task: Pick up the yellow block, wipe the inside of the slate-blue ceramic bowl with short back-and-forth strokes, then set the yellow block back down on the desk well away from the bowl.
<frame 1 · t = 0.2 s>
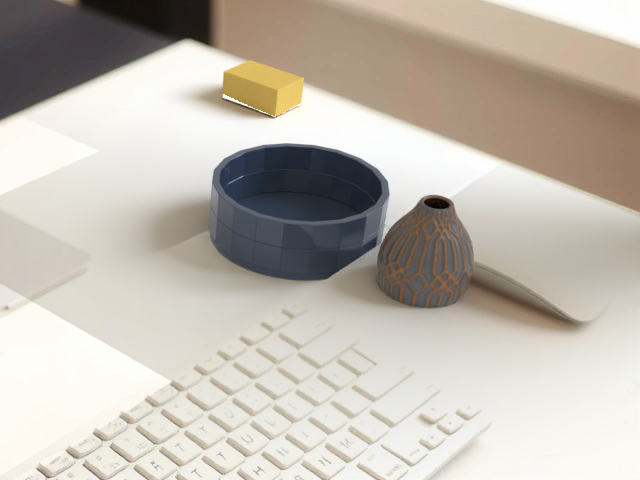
vase: (416, 306, 82), on the table
bowl: (294, 234, 91), on the table
yellow block: (261, 102, 113), on the table
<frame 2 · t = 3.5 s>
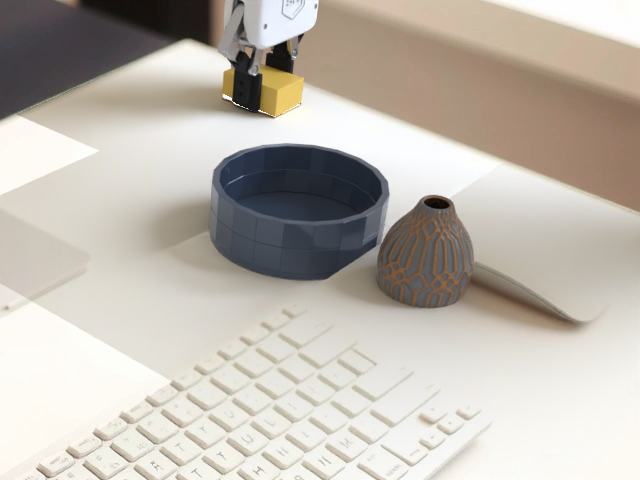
hand: (261, 98, 113), 0 cm above the table, tool pointing down, fingers closed on yellow block, 4 cm apart
yellow block: (261, 102, 113), on the table, touching gripper
everything else where it was.
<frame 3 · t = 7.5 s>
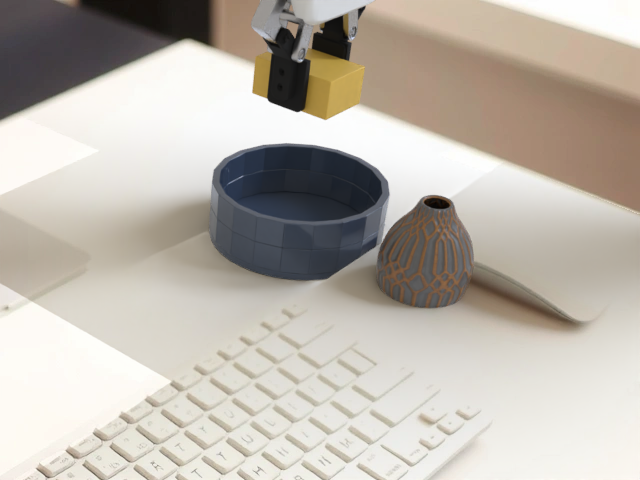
hand: (306, 94, 83), 12 cm above the table, tool pointing down, fingers closed on yellow block, 4 cm apart
yellow block: (305, 98, 84), point 12 cm above the table, touching gripper
everything else where it was.
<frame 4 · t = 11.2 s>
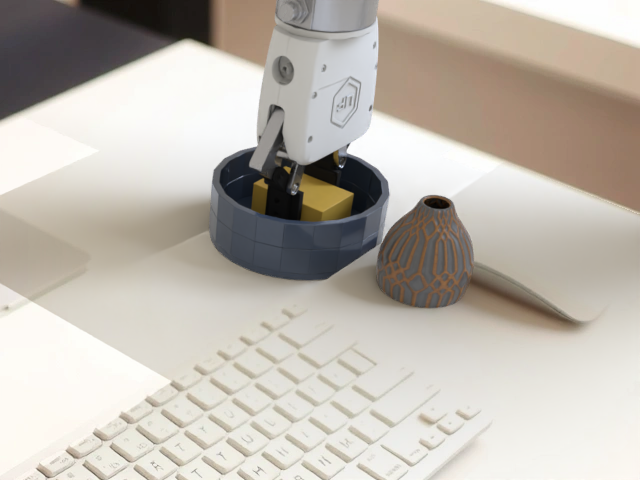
hand: (300, 216, 91), 1 cm above the table, tool pointing down, fingers closed on yellow block, 4 cm apart
yellow block: (299, 219, 91), point 1 cm above the table, touching gripper
everything else where it was.
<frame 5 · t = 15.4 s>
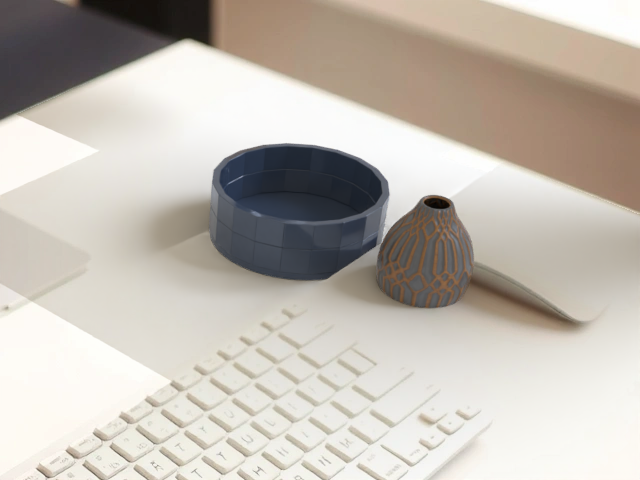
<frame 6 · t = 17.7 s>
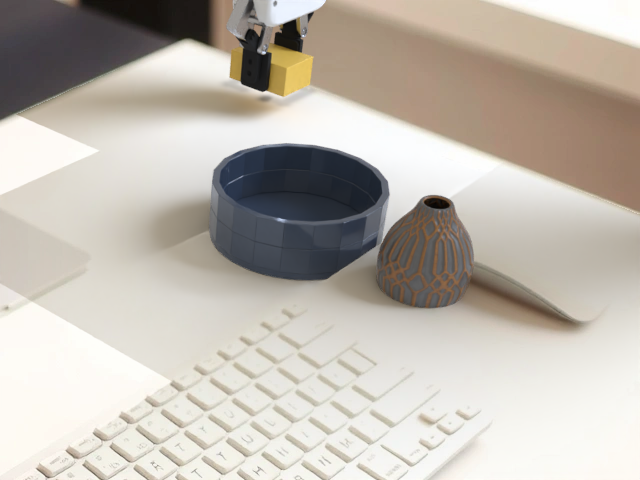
hand: (270, 78, 111), 3 cm above the table, tool pointing down, fingers closed on yellow block, 4 cm apart
yellow block: (269, 81, 111), point 3 cm above the table, touching gripper
everything else where it was.
when the fingers open (0 cm above the table, at t = 18.9 s): yellow block stays where it is, on the table.
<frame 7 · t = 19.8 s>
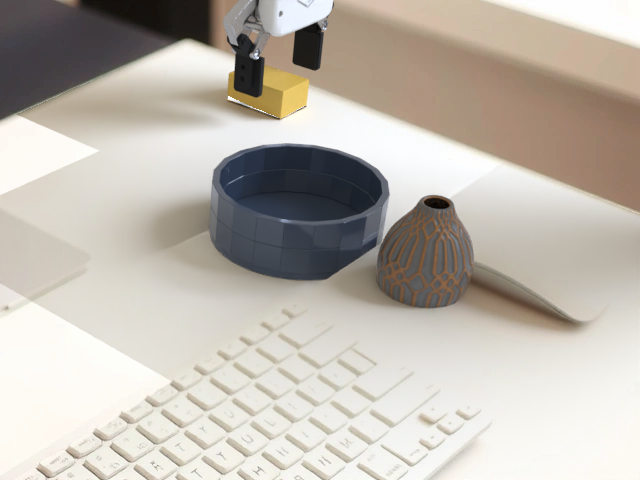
hand: (277, 79, 110), 3 cm above the table, tool pointing down, fingers open, 9 cm apart
yellow block: (266, 103, 112), on the table
everything else where it was.
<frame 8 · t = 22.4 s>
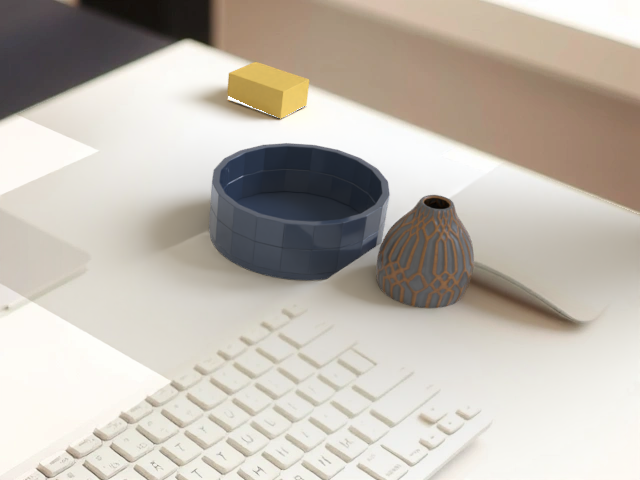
nothing on the table moved.
at the end: yellow block 0.4 cm from the target spot on the table beside the bowl, on the table; the gripper is holding nothing; yellow block tilted 0° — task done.
